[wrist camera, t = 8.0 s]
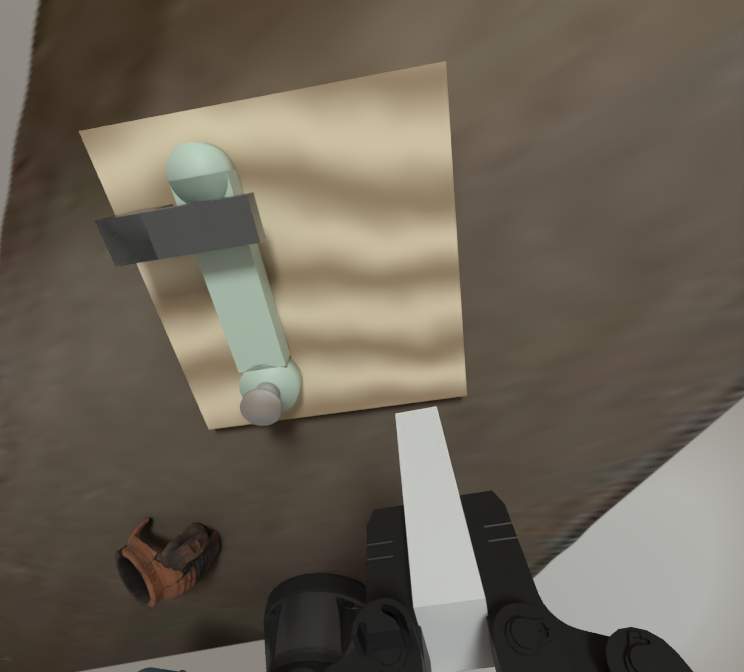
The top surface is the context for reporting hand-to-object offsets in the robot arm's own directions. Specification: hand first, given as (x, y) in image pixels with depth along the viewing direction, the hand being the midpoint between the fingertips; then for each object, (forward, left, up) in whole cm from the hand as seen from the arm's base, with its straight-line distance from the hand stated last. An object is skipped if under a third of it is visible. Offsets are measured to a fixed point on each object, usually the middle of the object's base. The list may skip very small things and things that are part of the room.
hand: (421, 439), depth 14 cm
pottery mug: (-28, +29, -21) cm, 45 cm away
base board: (+1, +7, -20) cm, 22 cm away
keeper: (+7, +13, -19) cm, 24 cm away
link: (+1, +12, -18) cm, 22 cm away
